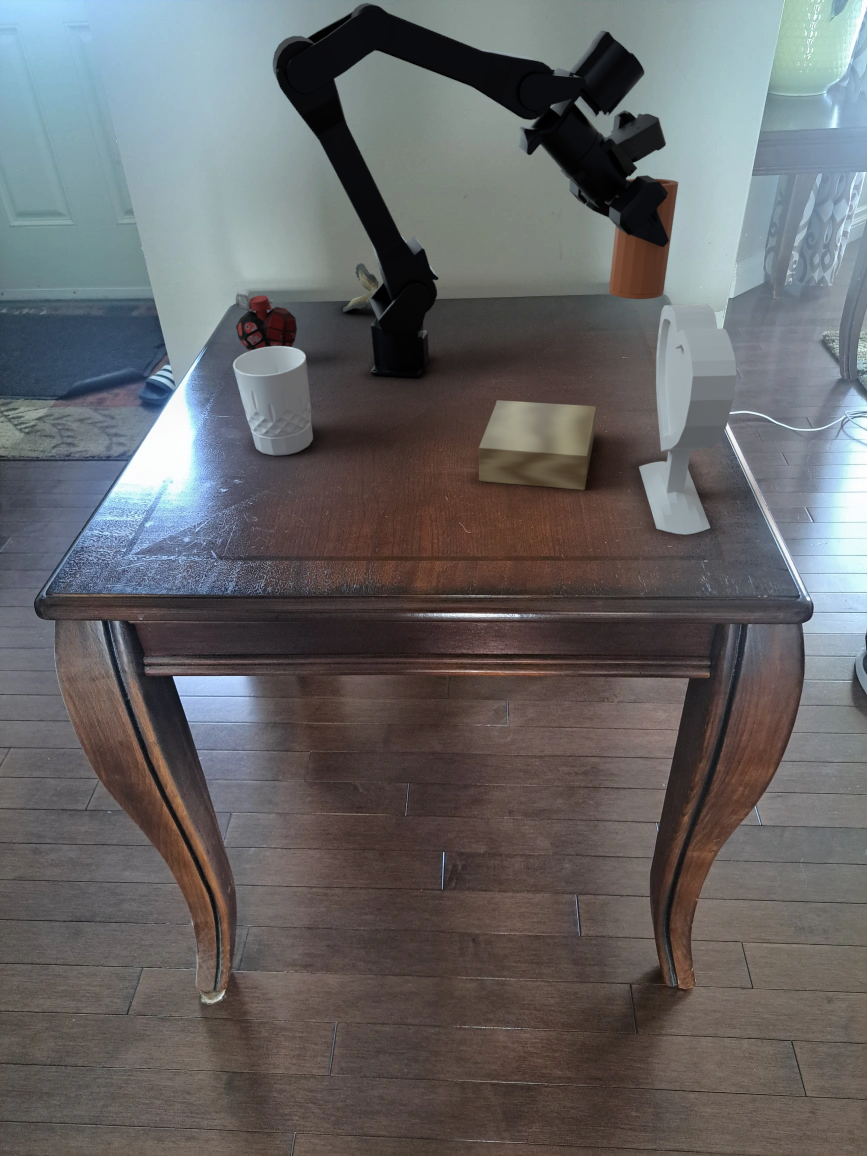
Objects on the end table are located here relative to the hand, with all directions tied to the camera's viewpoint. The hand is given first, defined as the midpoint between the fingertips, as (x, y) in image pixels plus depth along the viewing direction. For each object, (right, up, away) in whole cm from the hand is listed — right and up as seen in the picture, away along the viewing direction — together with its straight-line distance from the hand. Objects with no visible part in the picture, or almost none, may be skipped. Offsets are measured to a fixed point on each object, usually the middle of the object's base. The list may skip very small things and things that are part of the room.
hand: (653, 235), depth 108 cm
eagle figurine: (-38, -3, +21) cm, 44 cm away
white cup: (-46, -29, -11) cm, 55 cm away
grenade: (-51, -15, +7) cm, 53 cm away
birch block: (-17, -32, -17) cm, 40 cm away
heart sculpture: (-5, -36, -24) cm, 44 cm away
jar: (-1, -6, +4) cm, 7 cm away
